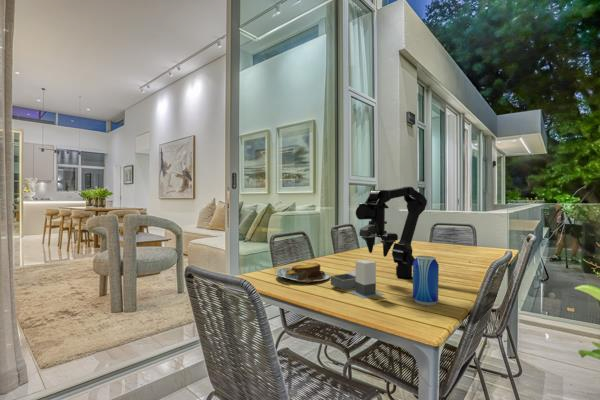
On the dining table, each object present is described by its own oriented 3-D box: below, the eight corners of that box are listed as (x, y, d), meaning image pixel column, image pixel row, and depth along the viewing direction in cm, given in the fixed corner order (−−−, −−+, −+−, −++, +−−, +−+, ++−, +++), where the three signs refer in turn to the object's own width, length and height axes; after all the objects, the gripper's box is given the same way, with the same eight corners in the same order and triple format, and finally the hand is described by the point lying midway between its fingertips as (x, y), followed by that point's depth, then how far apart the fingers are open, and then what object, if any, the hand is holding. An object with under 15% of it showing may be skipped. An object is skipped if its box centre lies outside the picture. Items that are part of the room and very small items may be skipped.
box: (366, 289, 125) (366, 259, 124) (375, 293, 120) (375, 262, 120) (355, 291, 122) (355, 260, 122) (364, 295, 117) (364, 263, 117)
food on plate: (286, 270, 160) (286, 257, 160) (334, 274, 153) (334, 260, 152) (265, 283, 136) (265, 267, 136) (321, 288, 128) (321, 272, 128)
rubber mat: (367, 288, 128) (367, 287, 128) (384, 295, 119) (384, 294, 119) (347, 292, 123) (347, 290, 123) (363, 299, 114) (363, 298, 114)
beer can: (436, 308, 106) (436, 260, 106) (410, 303, 110) (410, 258, 110) (439, 301, 113) (440, 256, 113) (415, 297, 118) (415, 254, 117)
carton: (352, 281, 138) (352, 269, 137) (364, 286, 130) (364, 273, 130) (325, 286, 131) (325, 273, 131) (336, 291, 124) (336, 277, 124)
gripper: (349, 218, 141) (349, 252, 142) (378, 221, 125) (377, 260, 125) (369, 217, 147) (369, 250, 147) (399, 220, 130) (398, 258, 130)
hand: (377, 254), depth 137 cm, fingers open, 9 cm apart
